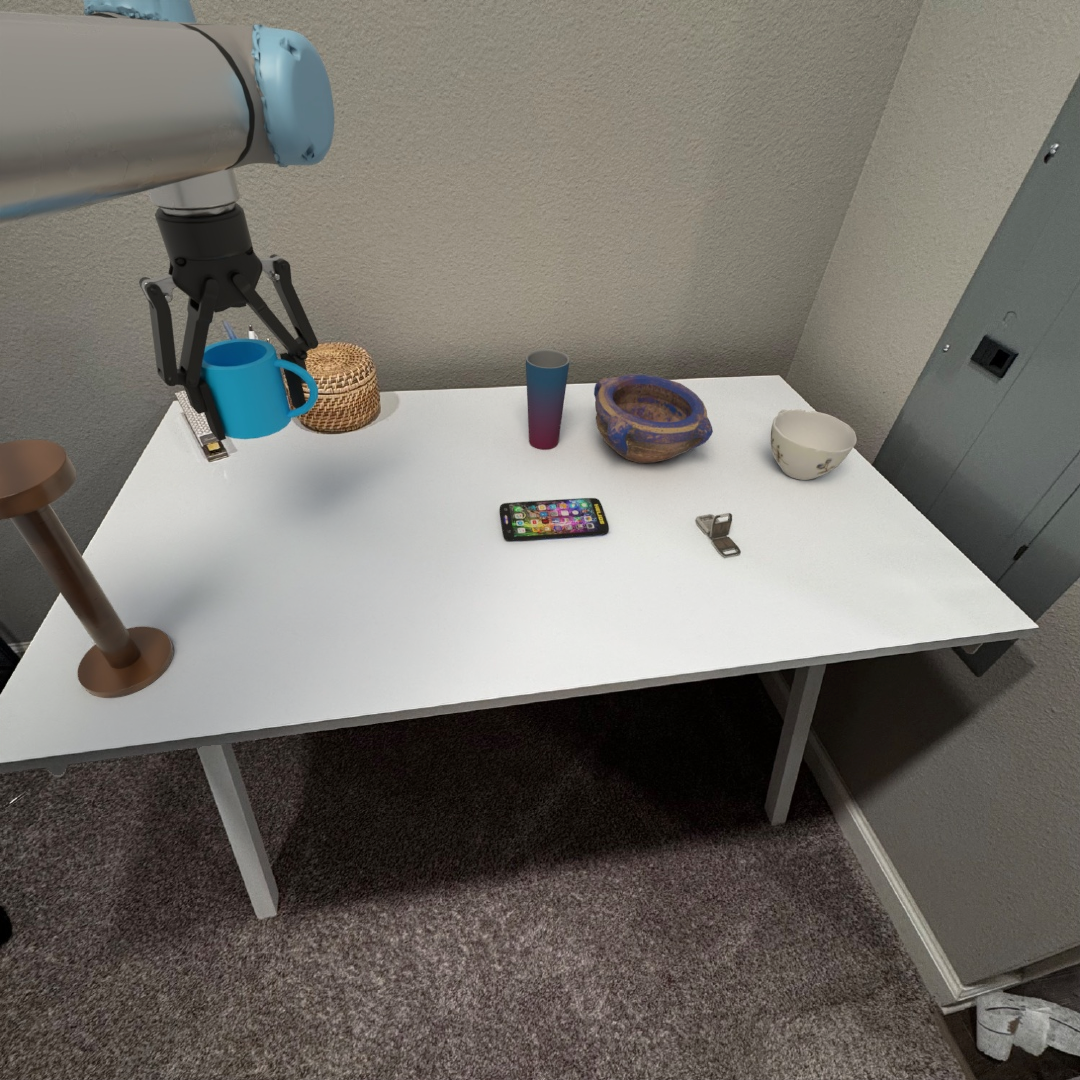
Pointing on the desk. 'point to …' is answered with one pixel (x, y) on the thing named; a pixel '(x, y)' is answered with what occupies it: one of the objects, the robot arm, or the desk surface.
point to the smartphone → (553, 519)
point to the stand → (76, 571)
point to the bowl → (649, 417)
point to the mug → (251, 387)
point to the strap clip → (718, 532)
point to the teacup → (809, 442)
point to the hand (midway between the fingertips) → (260, 421)
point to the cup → (545, 395)
